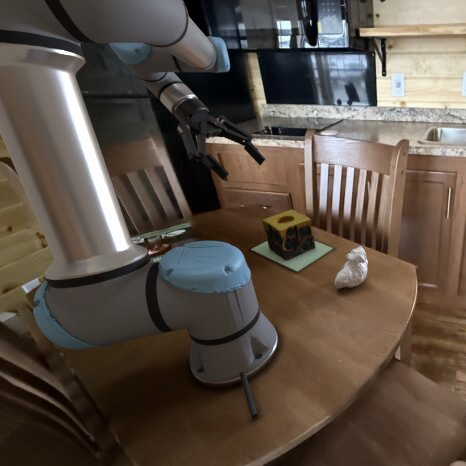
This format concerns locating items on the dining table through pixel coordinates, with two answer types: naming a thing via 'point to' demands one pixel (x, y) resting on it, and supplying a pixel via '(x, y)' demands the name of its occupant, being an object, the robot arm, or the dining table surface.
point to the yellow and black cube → (289, 234)
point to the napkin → (296, 262)
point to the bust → (353, 269)
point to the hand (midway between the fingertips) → (245, 169)
